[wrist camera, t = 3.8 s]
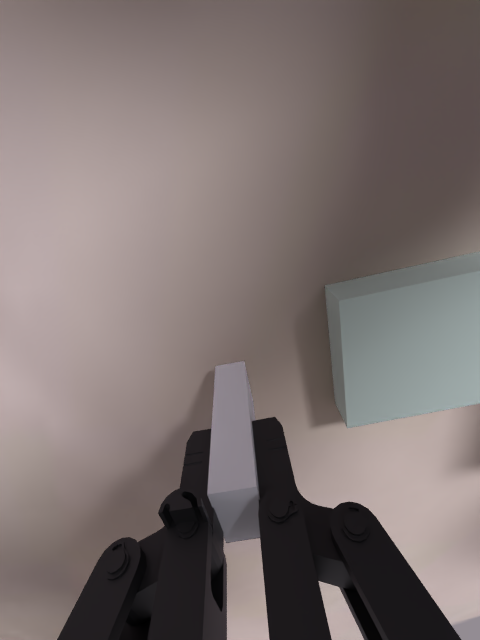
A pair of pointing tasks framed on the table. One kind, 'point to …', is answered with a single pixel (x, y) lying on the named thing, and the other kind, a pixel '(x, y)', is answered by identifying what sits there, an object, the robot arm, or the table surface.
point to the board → (406, 340)
